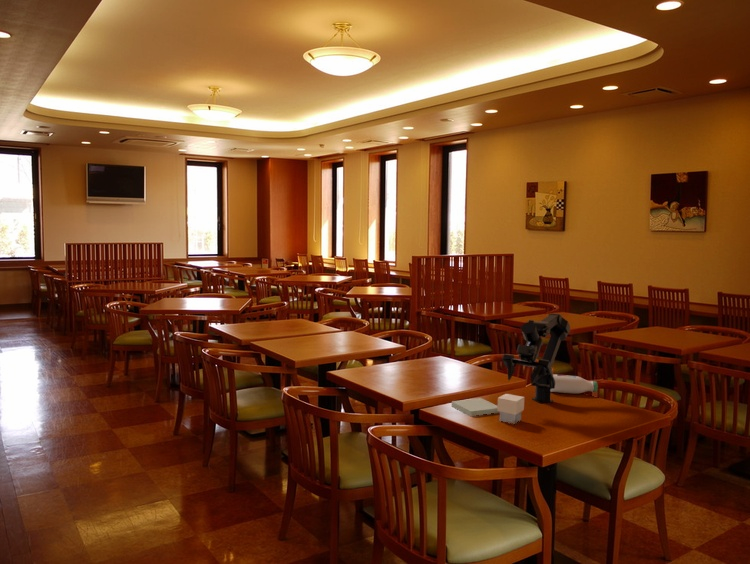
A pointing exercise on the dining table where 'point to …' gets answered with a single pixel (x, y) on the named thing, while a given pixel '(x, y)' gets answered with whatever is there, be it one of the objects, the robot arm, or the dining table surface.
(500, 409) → the cream lid
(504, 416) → the steel tin
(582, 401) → the dining table surface
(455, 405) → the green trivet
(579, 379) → the milk bottle
